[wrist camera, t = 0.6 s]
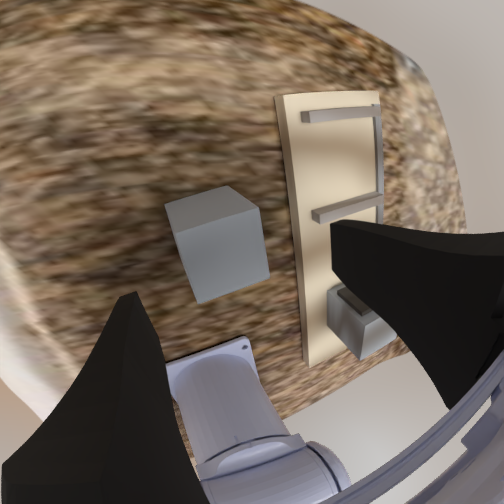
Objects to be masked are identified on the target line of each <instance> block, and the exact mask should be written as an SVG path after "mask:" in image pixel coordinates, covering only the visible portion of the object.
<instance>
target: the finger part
mask: <svg viewBox="0 0 504 504" xmlns="http://www.w3.org/2000/svg"><path fill="white" fill-rule="evenodd" d="M164 205H165V208H166V212H167V215H168V219H169V222H170V225H171V229H172V232H173V235H174V239H175V242H176V245H177V248H178V251H179V255H180V258H181V261H182V264H183V266H184V269H185V272H186V274H187V277H188V280H189V282H190V285H191V287H192V290H193V293H194V295H195V298H196V300H197V303H198V304H200V303H203V302H206V301H209V300H211V299H214V298H217V297H220V296H223V295H225V294H228V293H231V292H234V291H236V290H239V289H242V288H245V287H247V286H250V285H253V284H255V283H258V282H261V281H263V280H266V279H269V278H270V274H269V268H268V261H267V255H266V249H265V243H264V236H263V230H262V224H261V218H260V212H259V207H258V206H256V205H255V204H253V203H252V202H250V201H249V200H248V199H246V198H245V197H243V196H242V195H240V194H239V193H238V192H236V191H235V190H233V189H232V188H230V187H229V186H223V187H219V188H216V189H212V190H209V191H205V192H202V193H199V194H195V195H192V196H189V197H185V198H182V199H179V200H176V201H173V202H169V203H166V204H164Z"/></svg>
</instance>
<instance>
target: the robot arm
mask: <svg viewBox="0 0 504 504" xmlns="http://www.w3.org/2000/svg"><path fill="white" fill-rule="evenodd" d="M330 238H331V264H332V271H333V272H334V273H335V274H336V276H337V277H338V278H339V279H340V280H341V282H342V283H343V284H344V285H345V286H346V287H347V288H348V289H349V290H350V291H351V292H352V293H353V294H354V295H356V296H357V297H358V298H359V299H360V300H361V301H362V302H364V303H365V304H366V305H367V306H368V307H369V308H370V309H372V310H373V311H374V312H375V313H376V314H377V315H378V316H380V317H381V318H382V319H383V320H384V321H385V322H386V323H387V324H388V325H389V326H390V327H391V328H392V329H393V330H394V331H395V332H396V333H397V335H398V336H399V337H400V338H401V339H402V340H403V342H404V343H405V344H406V345H407V346H408V348H409V349H410V350H411V352H412V353H413V354H414V355H415V357H416V358H417V359H418V361H419V362H420V364H421V365H422V366H423V368H424V369H425V371H426V372H427V374H428V375H429V377H430V378H431V380H432V382H433V383H434V385H435V387H436V388H437V390H438V392H439V394H440V395H441V397H442V399H443V401H444V403H445V405H446V407H447V408H448V409H449V410H450V411H449V412H448V413H447V414H446V415H445V416H444V417H442V418H441V419H440V420H439V421H438V422H437V423H436V424H435V425H434V426H433V427H431V428H430V429H429V430H428V431H427V432H426V433H425V434H423V435H422V436H421V437H420V438H419V439H417V440H416V441H415V442H414V443H412V444H411V445H410V446H409V447H408V448H406V449H405V450H403V451H402V452H401V453H400V454H398V455H397V456H396V457H394V458H393V459H391V460H390V461H389V462H387V463H386V464H384V465H383V466H381V467H380V468H378V469H377V470H376V471H374V472H372V473H371V474H369V475H368V476H366V477H365V478H363V479H362V480H360V481H358V482H356V483H355V484H353V485H351V481H350V478H349V475H348V473H347V471H346V469H345V467H344V466H343V464H342V462H341V461H340V460H339V458H338V457H337V456H336V455H335V454H334V453H333V452H332V451H331V450H330V449H329V448H327V447H325V446H323V445H321V444H319V443H317V442H314V441H310V442H306V443H305V442H304V440H303V439H302V437H301V436H300V434H299V433H298V434H295V435H290V433H289V431H288V430H287V428H286V426H285V425H284V423H283V421H282V420H281V418H280V416H279V415H278V413H277V411H276V409H275V408H274V406H273V404H272V403H271V401H270V399H269V397H268V396H267V394H266V392H265V390H264V389H263V387H262V385H261V383H260V380H259V376H258V373H257V369H256V365H255V361H254V357H253V353H252V349H251V345H250V341H249V339H248V338H247V337H246V336H242V337H239V338H236V339H234V340H231V341H229V342H226V343H223V344H221V345H218V346H215V347H213V348H210V349H207V350H204V351H201V352H199V353H196V354H193V355H190V356H187V357H184V358H181V359H178V360H175V361H172V362H169V363H165V359H164V355H163V352H162V348H161V345H160V341H159V337H158V335H157V333H156V331H155V329H154V327H153V325H152V323H151V321H150V319H149V317H148V315H147V313H146V311H145V309H144V307H143V305H142V303H141V300H140V298H139V296H138V294H137V292H136V291H135V292H133V293H130V294H127V295H124V296H121V297H119V299H118V301H117V303H116V305H115V307H114V309H113V311H112V313H111V315H110V317H109V319H108V321H107V323H106V325H105V327H104V329H103V331H102V333H101V335H100V337H99V339H98V341H97V343H96V344H95V346H94V348H93V350H92V352H91V354H90V356H89V357H88V359H87V361H86V363H85V365H84V366H83V368H82V370H81V371H80V373H79V374H78V376H77V377H76V379H75V381H74V382H73V384H72V385H71V387H70V388H69V390H68V391H67V392H66V394H65V395H64V396H63V398H62V399H61V400H60V402H59V403H58V404H57V406H56V407H55V408H54V410H53V411H52V413H51V414H50V415H49V416H48V417H47V419H46V420H45V421H44V422H43V423H42V425H41V426H40V427H39V428H38V429H37V430H36V431H35V432H34V434H33V435H32V436H31V437H30V438H29V439H28V440H27V441H26V442H25V443H24V444H23V445H22V446H21V447H20V448H19V449H18V450H17V451H16V452H15V453H14V454H13V455H12V456H11V457H9V459H7V460H6V461H5V462H4V463H3V464H2V477H1V479H2V480H1V482H2V483H1V496H2V497H1V498H2V504H369V503H370V502H372V501H373V500H375V499H377V498H378V497H380V496H381V495H383V494H384V493H386V492H387V491H389V490H390V489H391V488H393V487H394V486H395V485H397V484H398V483H400V482H401V481H402V480H404V479H405V478H406V477H408V476H409V475H410V474H411V473H413V472H414V471H415V470H416V469H418V468H419V467H420V466H421V465H422V464H424V463H425V462H426V461H427V460H429V459H430V458H431V457H432V456H433V455H434V454H435V453H436V452H438V451H439V450H440V449H441V448H442V447H443V446H444V445H445V444H446V443H447V442H448V441H449V440H450V439H451V438H452V437H453V436H454V435H455V434H456V433H457V432H458V431H459V430H460V429H461V428H462V427H463V426H464V425H465V424H466V423H467V422H468V421H469V420H470V419H471V418H472V417H473V415H474V414H475V413H476V412H477V411H478V410H479V409H480V407H481V406H482V405H483V404H484V403H485V402H486V400H487V399H488V398H489V397H490V395H491V406H490V407H489V409H488V410H487V411H486V412H485V413H484V415H483V416H482V417H481V418H480V419H479V421H478V422H477V423H476V424H475V425H474V426H473V427H472V428H471V429H470V430H469V432H468V433H467V434H466V435H465V436H464V437H463V438H462V439H461V442H462V443H463V445H465V446H466V448H467V450H466V451H465V452H464V453H463V454H462V455H461V456H460V457H459V458H458V459H457V460H456V461H455V462H454V463H453V464H452V465H451V466H450V467H449V468H448V469H447V470H445V471H444V472H443V473H442V474H441V475H440V476H439V477H438V478H436V479H435V480H434V481H433V482H432V483H430V484H429V485H428V486H427V487H426V488H424V489H423V490H422V491H421V492H419V493H418V494H417V495H415V496H414V497H413V498H412V499H410V500H409V501H407V502H406V503H405V504H504V232H497V233H485V234H450V233H438V232H427V231H420V230H413V229H407V228H401V227H395V226H389V225H384V224H378V223H372V222H366V221H359V220H350V219H342V220H339V221H336V222H333V223H330ZM244 345H245V346H244ZM243 346H244V347H243ZM171 395H172V396H173V398H174V399H175V401H176V402H177V404H178V405H179V409H180V412H181V416H182V419H183V422H184V426H185V429H186V432H187V435H188V439H189V442H190V445H191V448H192V451H193V454H194V457H195V460H196V462H197V465H196V469H197V472H198V475H199V478H200V480H201V481H199V479H198V477H197V475H196V473H195V471H194V468H193V466H192V463H191V461H190V458H189V456H188V453H187V451H186V448H185V445H184V443H183V440H182V437H181V434H180V431H179V428H178V425H177V421H176V417H175V413H174V408H173V403H172V398H171Z"/></svg>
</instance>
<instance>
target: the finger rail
mask: <svg viewBox="0 0 504 504" xmlns="http://www.w3.org/2000/svg"><path fill="white" fill-rule="evenodd" d="M274 99H275V105H276V112H277V118H278V125H279V131H280V138H281V145H282V152H283V159H284V167H285V174H286V182H287V190H288V198H289V206H290V215H291V224H292V233H293V242H294V252H295V262H296V272H297V283H298V294H299V306H300V319H301V333H302V347H303V361H304V362H305V363H306V365H307V366H308V367H309V368H310V367H312V366H314V365H316V364H318V363H320V362H322V361H324V360H326V359H328V358H330V357H332V356H334V355H336V354H338V353H339V352H341V351H343V350H345V349H347V348H348V349H349V350H350V351H351V352H352V353H353V354H354V355H355V356H356V357H357V358H358V359H359V360H362V359H364V358H365V357H367V356H369V355H370V354H372V353H374V352H375V351H377V350H378V349H380V348H382V347H383V346H385V345H386V344H388V343H389V342H391V341H393V340H394V339H396V335H397V333H396V332H395V331H394V330H393V329H392V328H391V327H390V326H389V325H388V324H387V323H386V322H385V321H384V320H383V319H382V318H381V317H380V316H378V315H377V314H376V313H375V312H374V311H373V310H372V309H370V308H369V307H368V306H367V305H366V304H365V303H364V302H362V301H361V300H360V299H359V298H358V297H357V296H356V295H354V294H353V293H352V292H351V291H350V290H349V289H348V288H347V287H346V286H345V285H344V284H343V283H342V282H341V280H340V279H339V278H338V277H337V276H336V274H335V273H334V272H333V271H332V264H331V238H330V223H333V222H336V221H339V220H342V219H350V220H359V221H366V222H372V223H378V224H383V206H384V166H383V140H382V124H381V108H380V102H379V93H378V91H331V92H313V93H300V94H289V95H280V96H274Z"/></svg>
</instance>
